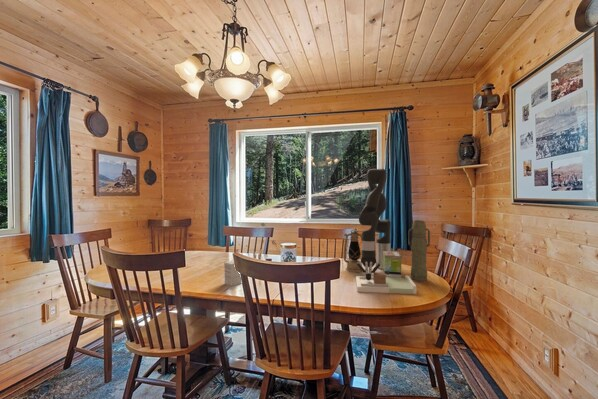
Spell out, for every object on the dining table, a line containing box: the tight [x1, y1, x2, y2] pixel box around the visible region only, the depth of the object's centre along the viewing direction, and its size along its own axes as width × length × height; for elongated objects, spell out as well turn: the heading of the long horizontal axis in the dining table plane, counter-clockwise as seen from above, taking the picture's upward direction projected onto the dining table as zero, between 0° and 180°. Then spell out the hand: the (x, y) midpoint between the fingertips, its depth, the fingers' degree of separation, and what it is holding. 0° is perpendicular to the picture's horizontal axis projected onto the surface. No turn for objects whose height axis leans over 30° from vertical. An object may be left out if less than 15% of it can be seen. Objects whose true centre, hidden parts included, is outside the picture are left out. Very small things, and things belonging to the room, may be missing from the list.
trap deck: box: [355, 275, 418, 295], centre depth 162 cm, size 20×30×4 cm
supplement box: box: [223, 260, 242, 287], centre depth 170 cm, size 7×7×13 cm
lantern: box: [343, 225, 363, 273], centre depth 200 cm, size 14×12×30 cm
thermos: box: [407, 219, 431, 283], centre depth 175 cm, size 9×12×35 cm
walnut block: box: [372, 271, 386, 284], centre depth 162 cm, size 6×6×5 cm
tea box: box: [382, 250, 403, 278], centre depth 182 cm, size 15×10×15 cm, turn 168°
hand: (368, 280), depth 164 cm, fingers closed
